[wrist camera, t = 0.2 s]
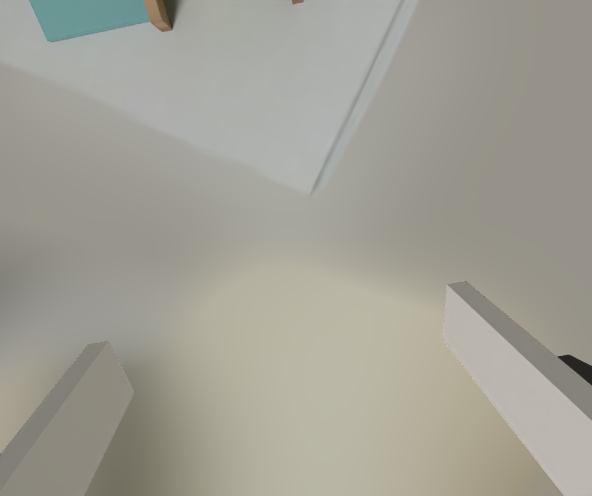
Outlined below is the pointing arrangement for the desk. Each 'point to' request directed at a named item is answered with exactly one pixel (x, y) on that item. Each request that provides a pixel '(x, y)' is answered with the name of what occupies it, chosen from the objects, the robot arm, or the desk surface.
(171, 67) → the desk surface
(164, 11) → the channel
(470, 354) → the robot arm
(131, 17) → the pad
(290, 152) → the desk surface
